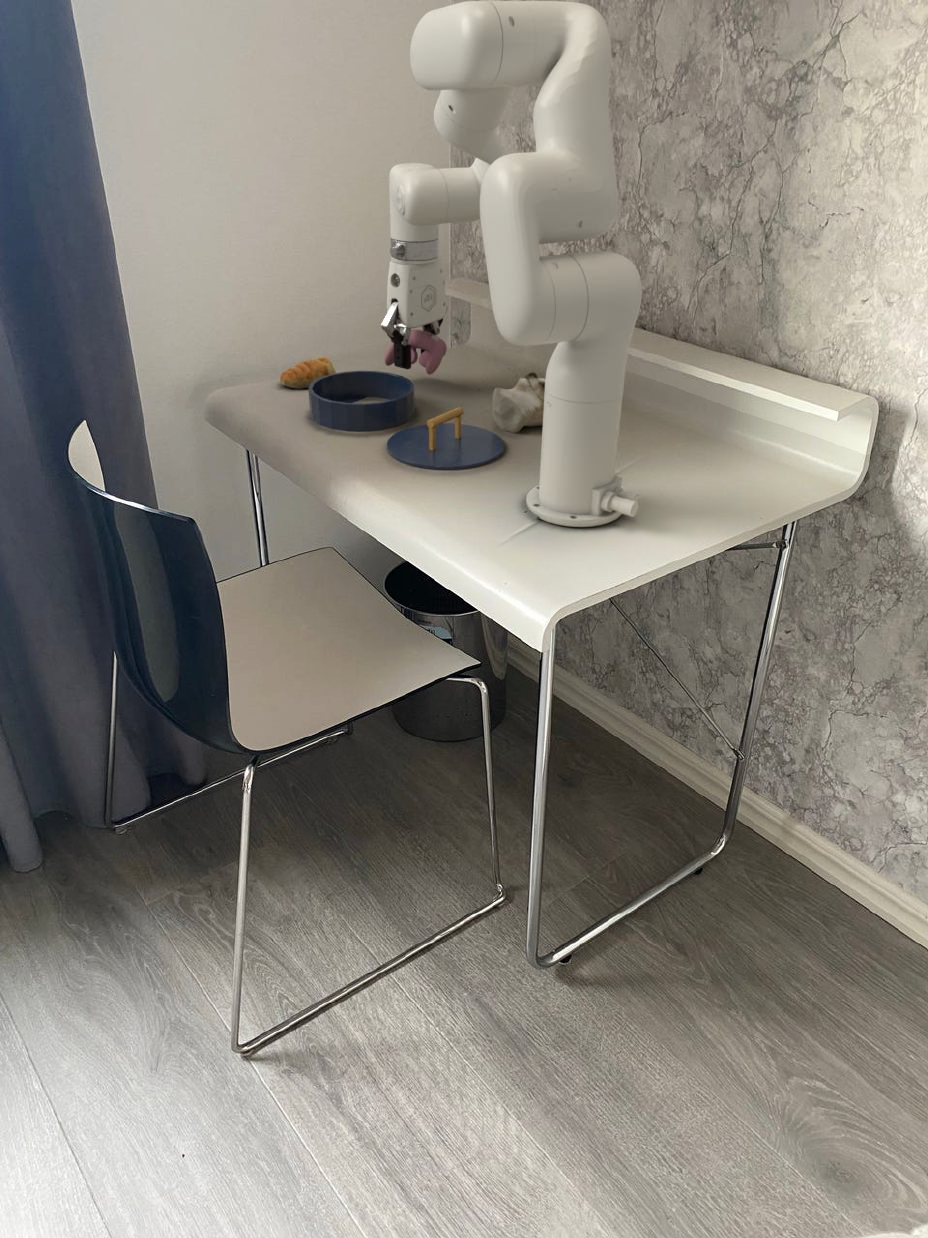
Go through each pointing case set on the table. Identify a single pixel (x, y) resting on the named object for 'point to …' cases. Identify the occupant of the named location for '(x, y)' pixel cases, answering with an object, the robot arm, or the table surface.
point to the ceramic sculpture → (520, 404)
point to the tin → (342, 389)
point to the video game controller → (427, 342)
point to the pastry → (307, 373)
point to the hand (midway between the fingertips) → (416, 361)
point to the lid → (445, 444)
